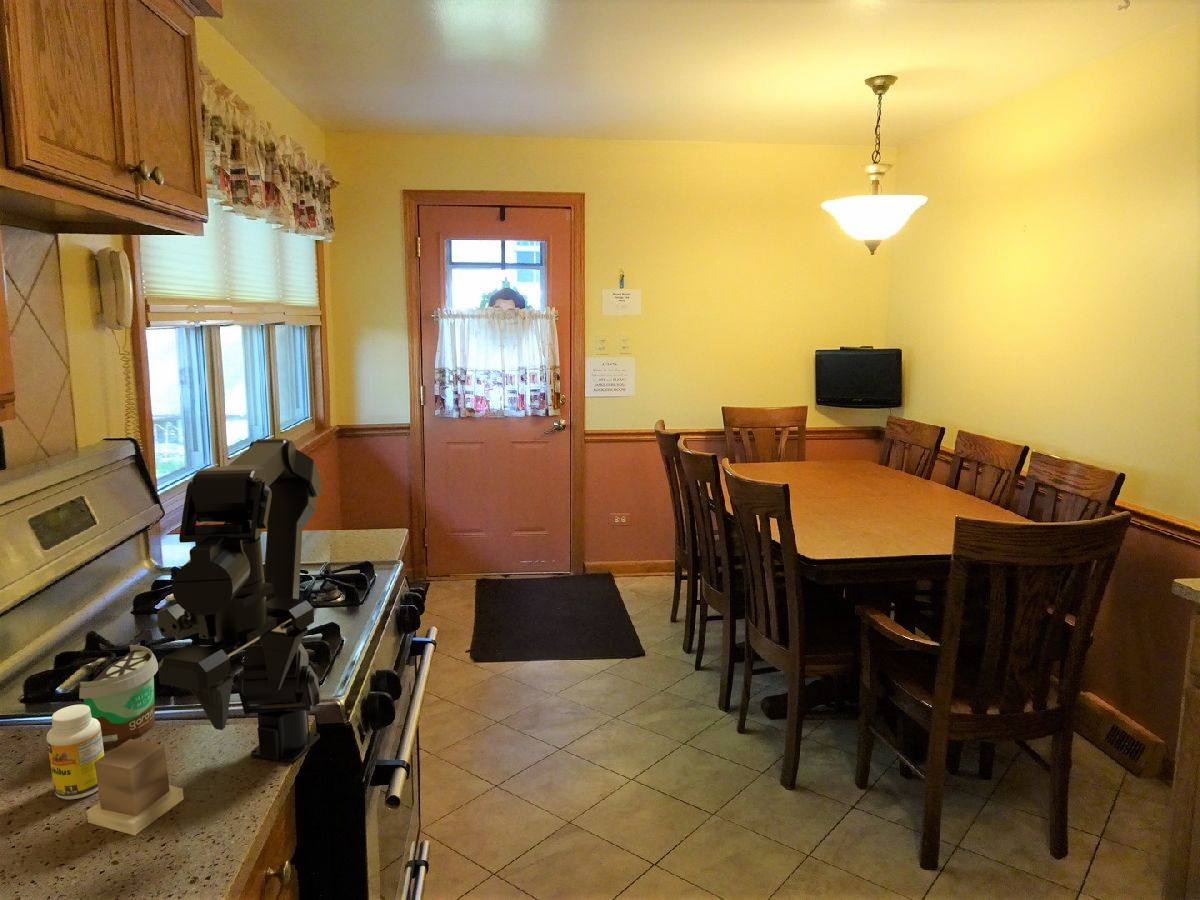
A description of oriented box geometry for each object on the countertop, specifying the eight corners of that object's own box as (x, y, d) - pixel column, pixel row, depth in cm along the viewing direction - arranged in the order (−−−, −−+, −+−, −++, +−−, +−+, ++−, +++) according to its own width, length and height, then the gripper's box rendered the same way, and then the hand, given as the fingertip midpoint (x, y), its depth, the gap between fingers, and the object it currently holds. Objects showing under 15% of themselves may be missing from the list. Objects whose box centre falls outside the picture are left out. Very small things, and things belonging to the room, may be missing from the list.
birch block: (139, 792, 101) (138, 777, 101) (184, 803, 99) (182, 788, 99) (88, 826, 95) (86, 811, 95) (134, 839, 93) (132, 823, 92)
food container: (133, 754, 108) (124, 684, 106) (87, 754, 109) (77, 684, 107) (181, 707, 121) (174, 643, 119) (140, 707, 121) (132, 643, 119)
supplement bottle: (45, 793, 100) (33, 716, 98) (91, 770, 105) (81, 696, 103) (70, 807, 98) (59, 728, 96) (117, 783, 102) (107, 707, 100)
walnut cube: (135, 783, 100) (130, 738, 98) (169, 790, 98) (164, 745, 97) (101, 808, 95) (94, 762, 94) (135, 816, 94) (129, 769, 92)
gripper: (235, 547, 102) (246, 663, 106) (108, 602, 85) (125, 739, 88) (312, 556, 99) (321, 675, 102) (195, 614, 82) (211, 756, 85)
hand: (248, 708), depth 94 cm, fingers open, 9 cm apart
